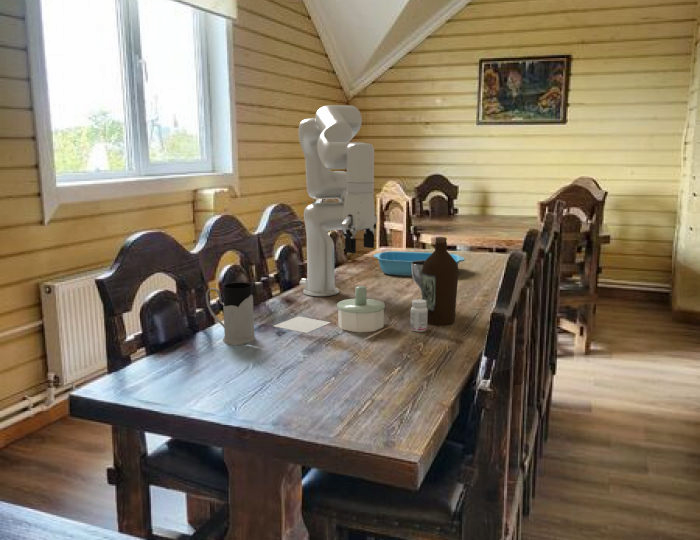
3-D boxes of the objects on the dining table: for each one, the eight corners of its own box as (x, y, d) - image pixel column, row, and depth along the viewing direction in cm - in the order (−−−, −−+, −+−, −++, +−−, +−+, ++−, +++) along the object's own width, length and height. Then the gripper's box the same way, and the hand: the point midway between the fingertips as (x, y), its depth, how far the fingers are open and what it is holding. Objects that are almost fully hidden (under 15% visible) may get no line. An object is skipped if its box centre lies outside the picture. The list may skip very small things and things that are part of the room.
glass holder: (245, 346, 160) (243, 290, 157) (199, 340, 165) (196, 286, 162) (261, 336, 168) (260, 283, 165) (217, 331, 173) (214, 279, 170)
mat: (272, 327, 176) (272, 326, 176) (298, 317, 186) (298, 316, 186) (306, 334, 170) (306, 332, 170) (331, 324, 180) (331, 322, 180)
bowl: (331, 329, 175) (331, 308, 174) (354, 319, 185) (354, 299, 184) (367, 336, 168) (368, 315, 167) (389, 325, 179) (390, 305, 177)
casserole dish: (463, 268, 261) (463, 252, 259) (464, 280, 239) (465, 261, 238) (376, 266, 266) (377, 249, 265) (370, 277, 245) (370, 259, 243)
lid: (327, 308, 174) (327, 288, 172) (353, 298, 185) (353, 279, 184) (368, 315, 166) (369, 295, 165) (393, 305, 178) (393, 285, 176)
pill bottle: (428, 328, 176) (429, 299, 174) (425, 332, 172) (425, 303, 170) (412, 326, 178) (413, 298, 176) (408, 331, 173) (409, 302, 171)
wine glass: (434, 312, 192) (436, 265, 189) (409, 311, 194) (410, 264, 191) (436, 306, 200) (437, 260, 197) (411, 304, 201) (412, 259, 198)
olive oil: (443, 314, 190) (446, 234, 185) (464, 323, 180) (467, 239, 175) (414, 318, 186) (415, 236, 181) (433, 327, 176) (435, 241, 171)
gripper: (364, 186, 179) (364, 244, 182) (331, 190, 165) (331, 253, 168) (387, 187, 175) (386, 246, 178) (354, 191, 161) (354, 256, 164)
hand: (359, 249), depth 173 cm, fingers open, 9 cm apart
